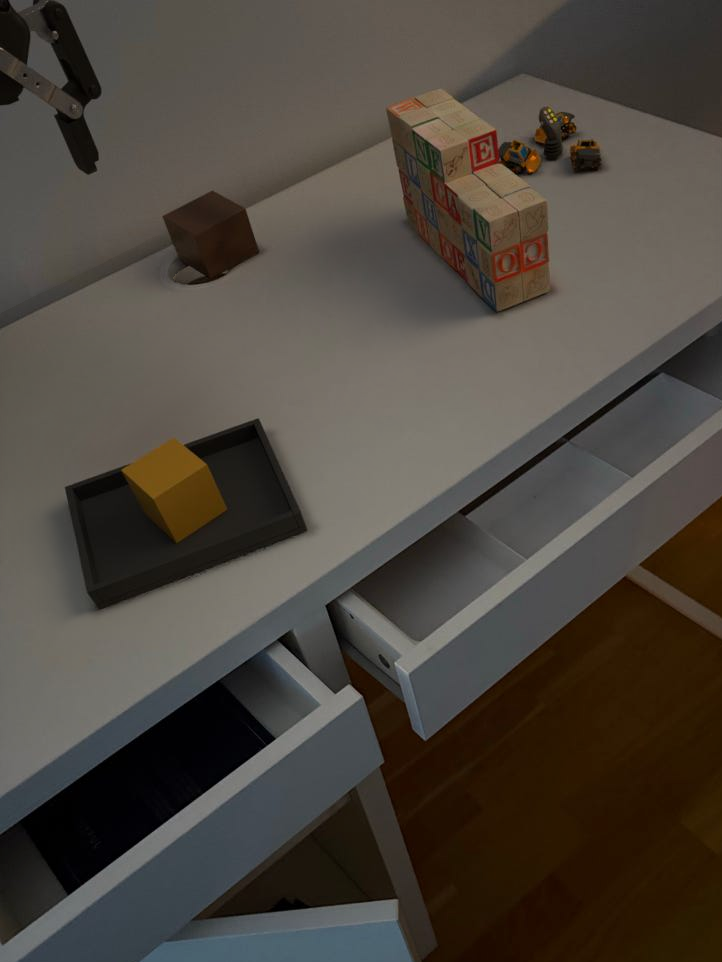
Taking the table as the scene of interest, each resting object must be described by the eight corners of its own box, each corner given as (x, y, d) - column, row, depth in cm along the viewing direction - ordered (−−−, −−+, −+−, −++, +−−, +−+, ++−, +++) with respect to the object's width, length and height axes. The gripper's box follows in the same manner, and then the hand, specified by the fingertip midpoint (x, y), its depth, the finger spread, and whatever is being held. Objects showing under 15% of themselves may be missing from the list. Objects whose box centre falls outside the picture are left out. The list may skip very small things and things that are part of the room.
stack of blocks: (553, 292, 91) (546, 166, 82) (496, 314, 90) (483, 189, 80) (456, 203, 104) (440, 84, 94) (406, 222, 103) (384, 104, 93)
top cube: (176, 543, 75) (152, 498, 71) (145, 514, 78) (120, 469, 74) (227, 509, 77) (207, 464, 73) (195, 482, 79) (173, 437, 75)
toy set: (557, 197, 102) (555, 152, 98) (486, 167, 108) (482, 124, 104) (631, 152, 106) (632, 108, 103) (560, 126, 112) (558, 83, 108)
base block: (210, 279, 100) (194, 235, 96) (179, 259, 103) (161, 216, 99) (259, 252, 102) (245, 208, 98) (227, 233, 105) (212, 190, 101)
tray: (98, 609, 72) (86, 592, 71) (75, 504, 80) (64, 486, 79) (307, 530, 75) (300, 512, 73) (265, 436, 83) (258, 417, 81)
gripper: (-11, -125, 58) (97, 140, 71) (-240, -52, 53) (-79, 219, 66) (42, -106, 55) (146, 170, 68) (-198, -25, 50) (-36, 257, 63)
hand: (35, 194), depth 67 cm, fingers open, 8 cm apart
